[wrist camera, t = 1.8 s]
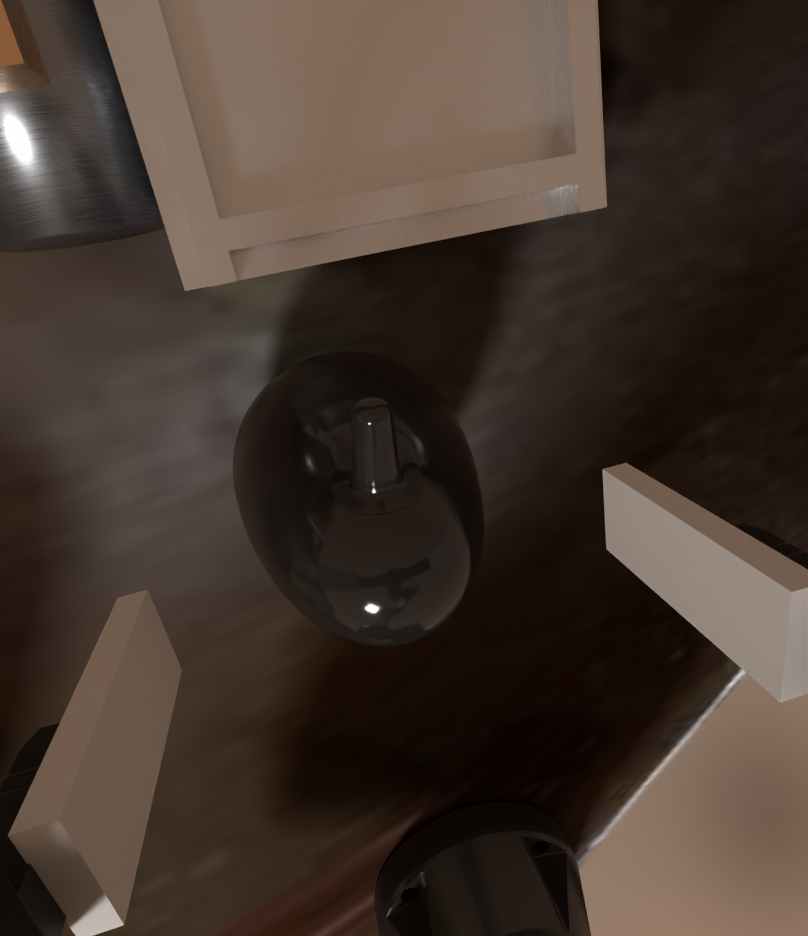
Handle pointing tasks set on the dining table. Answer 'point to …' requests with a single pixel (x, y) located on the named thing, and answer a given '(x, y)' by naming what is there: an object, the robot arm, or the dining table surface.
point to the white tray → (293, 125)
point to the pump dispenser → (361, 497)
